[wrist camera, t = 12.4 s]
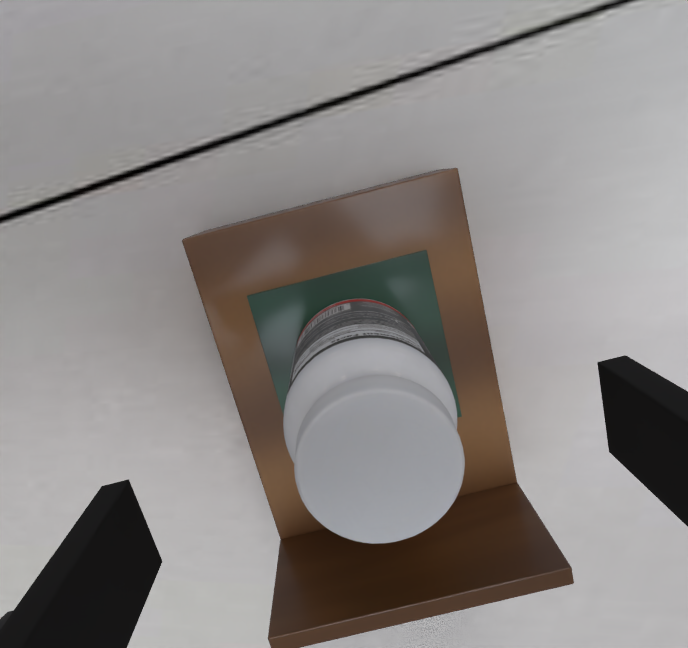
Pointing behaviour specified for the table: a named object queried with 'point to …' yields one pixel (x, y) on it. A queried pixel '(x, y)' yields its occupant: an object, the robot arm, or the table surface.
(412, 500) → the pill bottle
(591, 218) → the table surface
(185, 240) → the shelf
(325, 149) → the table surface
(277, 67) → the table surface
